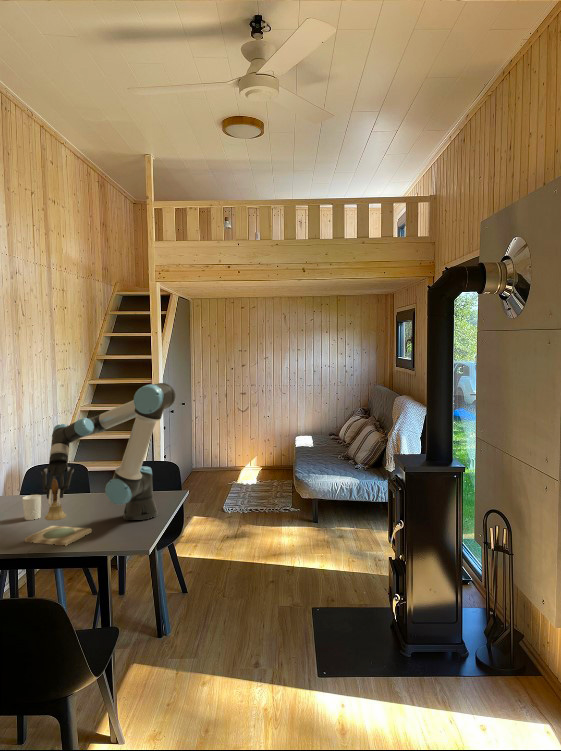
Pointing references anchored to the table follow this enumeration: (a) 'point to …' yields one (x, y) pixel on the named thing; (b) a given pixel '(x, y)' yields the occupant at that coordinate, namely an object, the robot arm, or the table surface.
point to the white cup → (32, 507)
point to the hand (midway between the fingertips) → (54, 504)
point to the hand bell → (55, 505)
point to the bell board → (58, 535)
